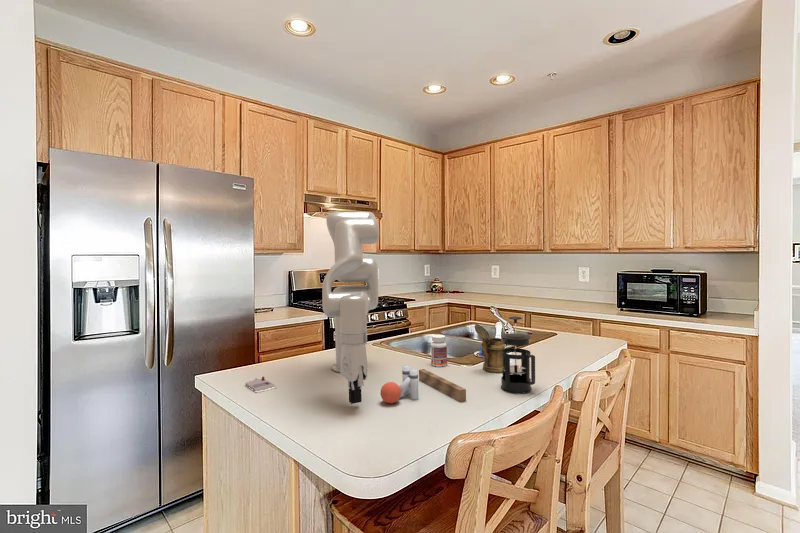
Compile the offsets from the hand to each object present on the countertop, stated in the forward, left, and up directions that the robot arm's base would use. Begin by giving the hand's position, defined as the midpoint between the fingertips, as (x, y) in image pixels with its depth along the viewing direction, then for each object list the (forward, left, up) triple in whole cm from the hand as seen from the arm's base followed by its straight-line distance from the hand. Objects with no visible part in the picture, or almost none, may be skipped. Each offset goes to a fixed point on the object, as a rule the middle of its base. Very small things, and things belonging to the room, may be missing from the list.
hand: (355, 402), depth 116 cm
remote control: (-34, -21, -2) cm, 40 cm away
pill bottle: (-24, +44, -2) cm, 50 cm away
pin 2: (+3, +18, -2) cm, 18 cm away
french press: (+12, +50, -2) cm, 51 cm away
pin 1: (-2, +18, -2) cm, 18 cm away
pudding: (-26, +70, -2) cm, 75 cm away
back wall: (0, +29, -2) cm, 29 cm away
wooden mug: (-8, +56, -2) cm, 57 cm away
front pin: (0, +13, -1) cm, 14 cm away
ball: (+2, +10, +2) cm, 11 cm away
